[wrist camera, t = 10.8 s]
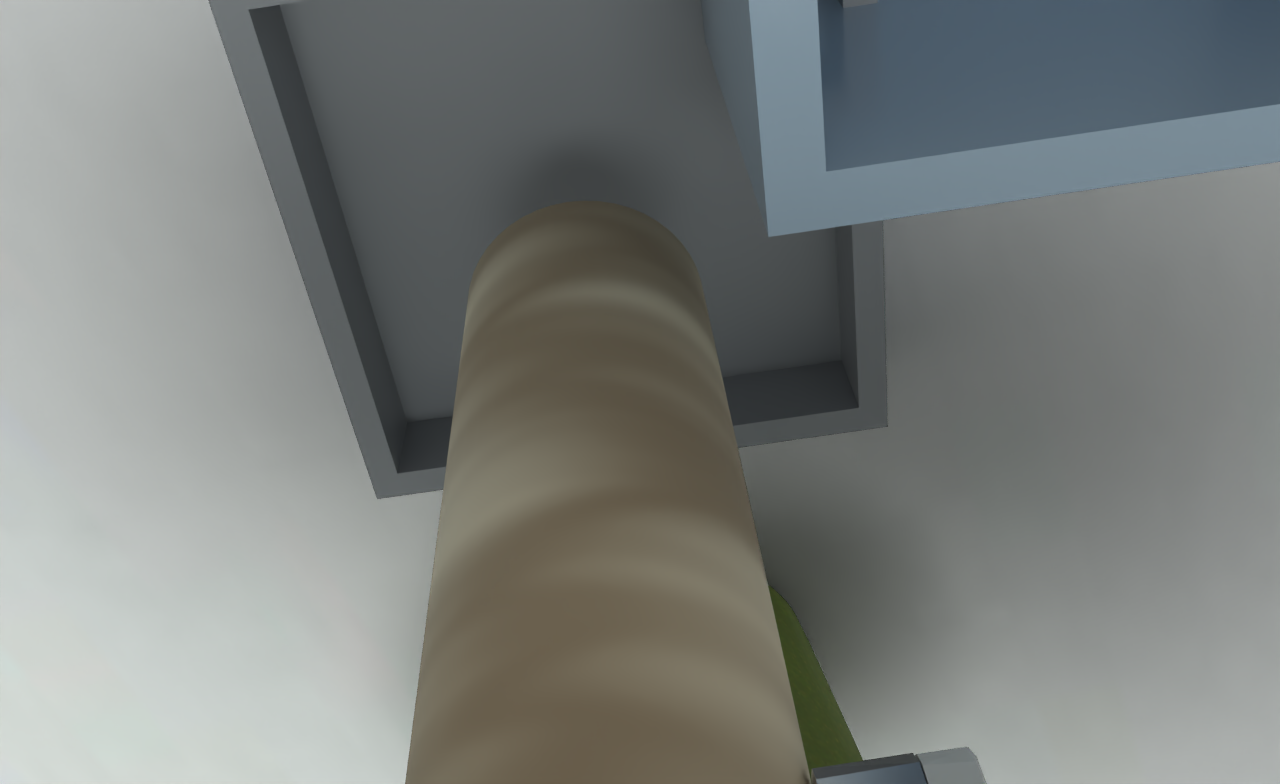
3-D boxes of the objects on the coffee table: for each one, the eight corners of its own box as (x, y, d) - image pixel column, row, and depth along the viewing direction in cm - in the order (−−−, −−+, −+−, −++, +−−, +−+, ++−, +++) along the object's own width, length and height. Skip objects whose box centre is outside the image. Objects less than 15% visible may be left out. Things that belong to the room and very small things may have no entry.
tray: (844, -154, 21) (874, -127, 19) (862, 364, 27) (887, 426, 25) (235, -57, 22) (200, -21, 19) (391, 432, 28) (376, 499, 26)
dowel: (690, 183, 19) (958, 1301, 6) (714, 389, 21) (949, 1521, 9) (444, 220, 19) (226, 1395, 6) (494, 422, 21) (404, 1588, 9)
